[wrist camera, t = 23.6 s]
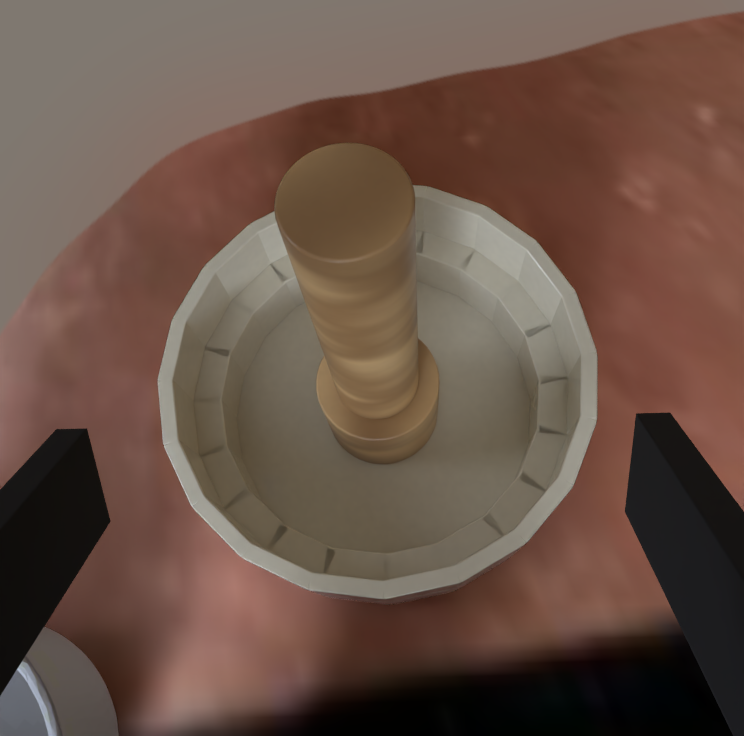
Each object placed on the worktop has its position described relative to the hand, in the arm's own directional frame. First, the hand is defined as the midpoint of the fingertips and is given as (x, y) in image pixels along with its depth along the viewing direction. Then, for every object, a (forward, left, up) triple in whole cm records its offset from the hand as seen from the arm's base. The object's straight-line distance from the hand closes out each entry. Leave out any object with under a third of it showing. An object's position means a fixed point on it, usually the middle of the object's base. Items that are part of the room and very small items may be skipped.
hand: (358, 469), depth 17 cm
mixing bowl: (-2, +5, -13) cm, 15 cm away
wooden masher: (-2, +5, -13) cm, 14 cm away
